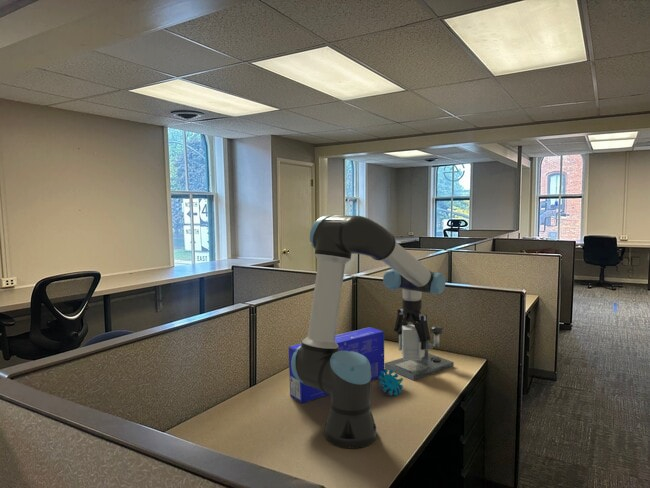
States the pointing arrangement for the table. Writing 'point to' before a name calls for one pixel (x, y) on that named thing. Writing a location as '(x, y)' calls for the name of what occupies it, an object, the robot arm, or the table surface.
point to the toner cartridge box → (357, 341)
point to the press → (420, 364)
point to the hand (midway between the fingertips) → (411, 353)
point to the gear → (390, 382)
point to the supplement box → (410, 343)
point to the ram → (436, 334)
